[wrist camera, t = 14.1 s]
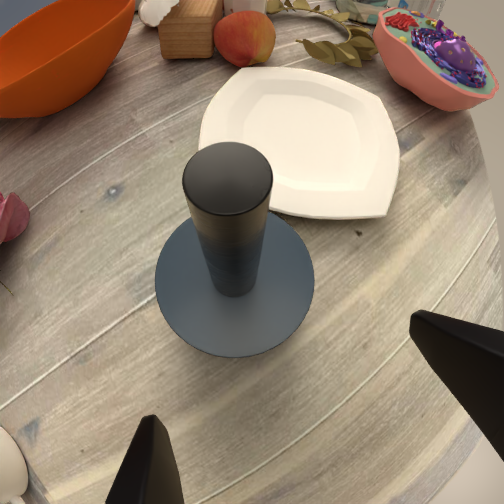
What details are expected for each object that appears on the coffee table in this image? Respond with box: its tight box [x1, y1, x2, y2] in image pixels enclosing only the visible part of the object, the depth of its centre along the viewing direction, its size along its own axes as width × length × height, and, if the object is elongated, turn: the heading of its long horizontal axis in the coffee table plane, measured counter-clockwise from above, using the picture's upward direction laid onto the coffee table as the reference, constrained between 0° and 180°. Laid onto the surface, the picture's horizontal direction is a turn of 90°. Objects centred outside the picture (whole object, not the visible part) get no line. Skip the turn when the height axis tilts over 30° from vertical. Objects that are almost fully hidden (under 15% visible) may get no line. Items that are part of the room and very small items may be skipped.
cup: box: [224, 0, 268, 17], centre depth 31 cm, size 7×7×11 cm
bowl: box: [0, 0, 135, 118], centre depth 28 cm, size 25×25×10 cm
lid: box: [155, 142, 314, 358], centre depth 14 cm, size 9×9×11 cm
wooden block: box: [158, 0, 223, 59], centre depth 33 cm, size 7×7×20 cm
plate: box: [199, 67, 400, 220], centre depth 28 cm, size 19×19×2 cm
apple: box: [213, 9, 276, 67], centre depth 30 cm, size 7×7×8 cm
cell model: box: [372, 7, 499, 112], centre depth 29 cm, size 17×20×11 cm
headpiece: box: [266, 0, 379, 67], centre depth 36 cm, size 21×4×15 cm
